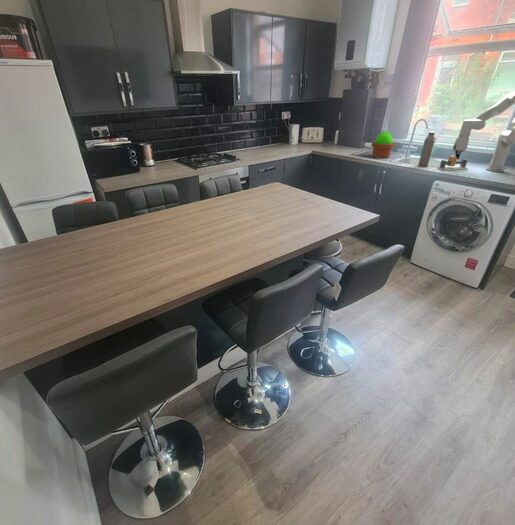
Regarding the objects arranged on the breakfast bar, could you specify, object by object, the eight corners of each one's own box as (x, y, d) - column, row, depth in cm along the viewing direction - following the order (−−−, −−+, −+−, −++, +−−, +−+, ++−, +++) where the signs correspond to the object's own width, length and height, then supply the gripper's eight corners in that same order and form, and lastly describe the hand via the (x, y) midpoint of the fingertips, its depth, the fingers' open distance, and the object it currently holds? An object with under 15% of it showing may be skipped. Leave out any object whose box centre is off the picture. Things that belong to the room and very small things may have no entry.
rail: (467, 169, 255) (470, 160, 252) (444, 170, 253) (447, 161, 249) (458, 166, 264) (461, 158, 260) (436, 168, 261) (439, 159, 258)
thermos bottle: (416, 164, 273) (424, 132, 259) (424, 164, 273) (433, 132, 259) (420, 166, 266) (429, 133, 252) (429, 166, 267) (438, 133, 252)
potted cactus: (389, 159, 296) (395, 132, 283) (367, 157, 306) (371, 131, 293) (393, 155, 312) (398, 130, 299) (372, 154, 322) (376, 129, 310)
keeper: (454, 166, 255) (457, 156, 251) (450, 166, 254) (453, 156, 250) (450, 165, 259) (453, 155, 255) (446, 165, 259) (449, 155, 255)
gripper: (468, 135, 249) (461, 157, 258) (452, 135, 247) (445, 158, 257) (475, 136, 243) (467, 159, 252) (459, 136, 241) (451, 159, 250)
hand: (456, 158), depth 254 cm, fingers closed
